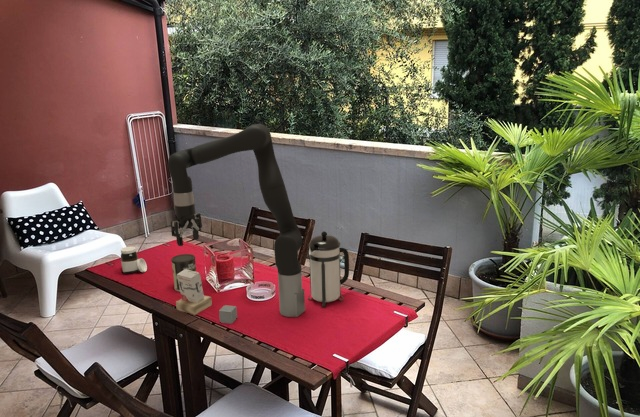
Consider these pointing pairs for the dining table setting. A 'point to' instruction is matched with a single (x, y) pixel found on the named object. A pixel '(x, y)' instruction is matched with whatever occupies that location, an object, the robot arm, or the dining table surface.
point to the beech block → (193, 305)
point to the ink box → (190, 286)
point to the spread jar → (132, 261)
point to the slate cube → (228, 314)
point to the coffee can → (182, 266)
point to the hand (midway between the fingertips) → (188, 242)
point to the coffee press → (326, 268)
